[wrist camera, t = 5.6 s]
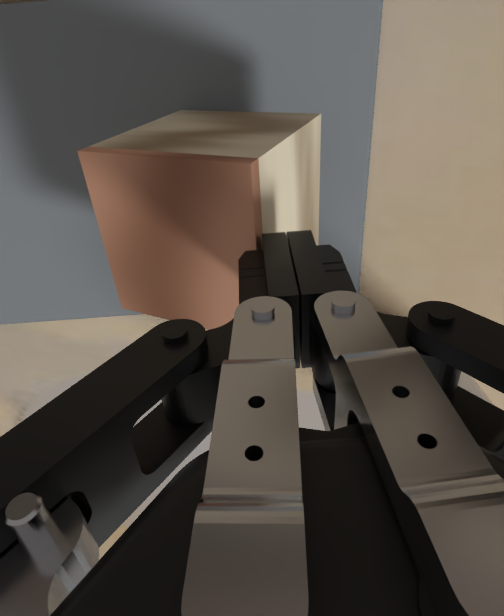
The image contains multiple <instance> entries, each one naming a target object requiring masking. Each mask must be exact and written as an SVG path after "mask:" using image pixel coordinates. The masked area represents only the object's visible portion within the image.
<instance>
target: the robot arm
mask: <svg viewBox="0 0 504 616" xmlns="http://www.w3.org/2000/svg"><path fill="white" fill-rule="evenodd" d="M261 238H262V250H250V251H245V252H244V253H243V254H242V256H241V257H240V258H239V260H238V269H239V306H238V307H237V308H236V310H235V313H234V318H233V319H232V320H231V321H230V322H228V323H226V324H225V325H222V326H220V327H217V328H214V329H211V330H207V331H205V328H204V327H203V326H202V325H201V324H200V323H199V322H197V321H194V320H190V319H174V320H169V321H166V322H163V323H161V324H159V325H157V326H156V327H154V328H153V329H151V330H150V331H149V332H147V333H146V334H144V335H143V336H142V337H140V338H139V339H137V340H136V341H135V342H133V343H132V344H130V345H129V346H128V347H126V348H125V349H123V350H122V351H121V352H119V353H118V354H116V355H115V356H113V357H112V358H111V359H109V360H108V361H106V362H105V363H104V364H102V365H101V366H99V367H98V368H97V369H95V370H94V371H92V372H91V373H90V374H88V375H87V376H85V377H84V378H83V379H81V380H80V381H78V382H77V383H76V384H74V385H73V386H71V387H70V388H69V389H67V390H66V391H64V392H63V393H62V394H60V395H59V396H58V397H56V398H55V399H53V400H52V401H50V402H49V403H47V404H46V405H45V406H43V407H42V408H41V409H39V410H38V411H36V412H35V413H33V414H32V415H31V416H29V417H28V418H26V419H25V420H24V421H22V422H21V423H19V424H18V425H17V426H15V427H14V428H12V429H11V430H10V431H8V432H7V433H5V434H4V435H3V436H1V437H0V616H504V411H503V410H502V409H500V408H498V407H496V406H494V405H492V404H491V403H489V402H487V401H485V400H483V399H481V398H480V397H478V396H476V395H474V394H472V393H470V392H469V391H467V390H465V389H463V388H461V387H459V386H458V382H459V378H460V375H461V371H462V372H464V373H466V374H467V375H469V376H471V377H473V378H475V379H477V380H479V381H481V382H483V383H485V384H487V385H489V386H490V387H492V388H494V389H496V390H498V391H500V392H502V393H504V325H501V324H499V323H497V322H494V321H492V320H489V319H487V318H485V317H482V316H480V315H478V314H475V313H473V312H471V311H468V310H466V309H463V308H461V307H459V306H456V305H454V304H450V303H447V302H441V301H427V302H422V303H419V304H416V305H415V306H413V307H412V308H411V309H410V311H409V314H408V317H402V316H394V315H387V314H383V313H379V312H376V310H375V309H374V307H373V305H372V303H371V302H370V301H369V300H368V299H367V298H366V297H364V296H363V295H361V294H358V293H357V292H356V289H355V287H354V285H353V282H352V280H351V277H350V275H349V273H348V271H347V268H346V265H345V263H344V261H343V258H342V256H341V254H340V252H339V251H338V250H336V249H335V248H334V247H332V246H331V245H330V244H329V245H316V243H315V240H314V237H313V234H312V231H311V230H302V231H289V232H287V233H285V232H277V233H263V234H261ZM300 360H301V365H302V368H305V367H312V371H313V392H314V395H315V398H316V401H317V405H318V408H319V411H320V414H321V418H322V421H323V424H324V427H325V431H321V430H313V429H306V428H299V425H298V408H297V407H298V406H297V388H296V369H295V368H300ZM159 400H162V403H161V404H160V405H158V406H157V407H156V408H155V409H154V410H153V411H151V412H150V413H149V414H148V415H147V416H146V417H144V418H143V419H142V420H141V421H140V422H139V423H138V424H136V425H135V426H134V424H135V423H136V421H137V420H138V419H139V418H140V417H141V416H142V415H143V414H144V413H146V411H148V410H149V409H150V408H151V407H153V406H154V405H155V404H156V403H157V402H158V401H159ZM133 426H134V427H133ZM211 431H212V435H211V442H210V449H209V450H208V451H206V452H204V453H203V454H201V455H199V456H198V457H196V458H195V459H193V460H192V461H190V462H189V463H188V464H187V465H186V466H185V467H183V468H182V469H181V470H180V471H179V472H178V473H177V474H176V475H175V476H174V478H173V479H172V480H171V481H170V482H169V483H168V484H167V485H166V487H165V488H164V489H163V490H162V491H161V492H160V493H159V494H158V496H157V497H156V498H155V499H154V500H153V501H152V502H151V503H150V504H149V505H148V507H147V508H146V509H145V510H144V511H143V512H142V513H141V514H140V515H139V517H138V518H137V519H136V520H135V521H134V522H133V523H132V524H131V525H130V527H129V528H128V529H127V530H126V531H125V532H124V533H123V534H122V536H121V537H120V538H119V539H118V540H117V541H116V542H115V543H114V544H113V546H112V547H111V548H110V549H109V550H108V551H107V552H106V553H105V555H104V556H103V557H102V558H101V559H100V560H99V547H100V546H101V545H102V544H103V543H104V542H105V541H106V540H107V539H108V538H109V537H110V536H111V535H112V534H113V533H114V532H115V531H116V529H117V528H118V527H119V526H120V525H121V524H122V523H123V522H124V521H125V520H126V519H127V518H128V517H129V516H130V515H131V514H132V513H133V512H134V511H135V510H136V509H137V507H138V506H140V505H141V504H142V503H143V501H145V499H146V498H147V497H148V496H149V495H150V494H151V493H152V492H153V491H154V490H155V489H156V488H157V487H158V486H159V485H160V484H161V483H162V482H163V481H164V480H165V479H166V477H168V476H169V475H170V473H171V472H173V471H174V469H175V468H176V467H177V466H178V465H179V464H180V463H181V462H182V461H183V460H184V459H185V458H186V457H187V456H188V455H189V454H190V453H191V452H192V451H193V450H194V449H195V448H196V447H197V446H198V445H199V444H200V443H201V441H203V439H204V438H205V437H206V436H207V435H208V434H209V433H210V432H211Z"/></svg>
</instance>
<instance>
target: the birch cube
mask: <svg viewBox="0 0 504 616" xmlns="http://www.w3.org/2000/svg"><path fill="white" fill-rule="evenodd" d="M320 146H321V114H319V113H278V112H238V111H197V110H180V111H177V112H175V113H172V114H169V115H167V116H164V117H162V118H159V119H157V120H154V121H152V122H149V123H147V124H144V125H142V126H139V127H137V128H134V129H132V130H129V131H126V132H124V133H121V134H119V135H116V136H114V137H111V138H109V139H106V140H104V141H101V142H99V143H96V144H94V145H91V146H89V147H86V148H84V149H81V150H78V151H77V152H78V155H79V159H80V163H81V166H82V170H83V173H84V177H85V180H86V184H87V187H88V191H89V194H90V198H91V201H92V205H93V208H94V212H95V215H96V219H97V222H98V226H99V229H100V233H101V237H102V240H103V244H104V247H105V251H106V254H107V258H108V261H109V265H110V268H111V272H112V275H113V279H114V282H115V286H116V289H117V293H118V296H119V300H120V303H121V307H122V308H123V309H127V310H131V311H135V312H139V313H143V314H147V315H152V316H156V317H160V318H164V319H168V320H174V319H190V320H194V321H197V322H199V323H200V324H201V325H202V326H203V327H204V328H205V329H210V330H211V329H214V328H217V327H220V326H222V325H225V324H226V323H228V322H230V321H231V320H232V319H233V318H234V313H235V310H236V308H237V307H238V306H239V269H238V260H239V258H240V257H241V256H242V254H243V253H244V252H245V251H250V250H262V238H261V234H263V233H277V232H285V233H287V232H289V231H302V230H311V231H312V234H313V237H314V240H315V243H316V245H318V240H319V193H320Z"/></svg>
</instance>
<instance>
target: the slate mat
mask: <svg viewBox="0 0 504 616" xmlns="http://www.w3.org/2000/svg"><path fill="white" fill-rule="evenodd" d="M382 6H383V0H44V1H32V2H19V3H7V4H0V324H14V323H27V322H41V321H55V320H68V319H82V318H96V317H109V316H123V315H137V314H143V313H139V312H135V311H131V310H127V309H123V308H122V307H121V303H120V300H119V296H118V293H117V289H116V286H115V282H114V279H113V275H112V272H111V268H110V265H109V261H108V258H107V254H106V251H105V247H104V244H103V240H102V237H101V233H100V229H99V226H98V222H97V219H96V215H95V212H94V208H93V205H92V201H91V198H90V194H89V191H88V187H87V184H86V180H85V177H84V173H83V170H82V166H81V163H80V159H79V155H78V152H77V151H78V150H81V149H84V148H86V147H89V146H91V145H94V144H96V143H99V142H101V141H104V140H106V139H109V138H111V137H114V136H116V135H119V134H121V133H124V132H126V131H129V130H132V129H134V128H137V127H139V126H142V125H144V124H147V123H149V122H152V121H154V120H157V119H159V118H162V117H164V116H167V115H169V114H172V113H175V112H177V111H180V110H197V111H238V112H278V113H319V114H321V146H320V193H319V240H318V245H329V244H330V245H331V246H332V247H334V248H335V249H336V250H338V251H339V252H340V254H341V256H342V258H343V261H344V263H345V265H346V268H347V271H348V273H349V275H350V277H351V280H352V282H353V285H354V287H355V289H356V292H357V293H359V281H360V269H361V257H362V245H363V233H364V221H365V210H366V198H367V186H368V174H369V162H370V150H371V138H372V126H373V114H374V102H375V90H376V78H377V66H378V54H379V42H380V30H381V18H382Z"/></svg>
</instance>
